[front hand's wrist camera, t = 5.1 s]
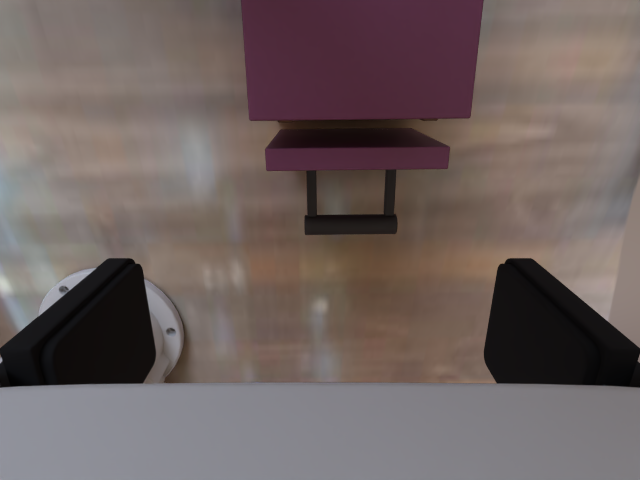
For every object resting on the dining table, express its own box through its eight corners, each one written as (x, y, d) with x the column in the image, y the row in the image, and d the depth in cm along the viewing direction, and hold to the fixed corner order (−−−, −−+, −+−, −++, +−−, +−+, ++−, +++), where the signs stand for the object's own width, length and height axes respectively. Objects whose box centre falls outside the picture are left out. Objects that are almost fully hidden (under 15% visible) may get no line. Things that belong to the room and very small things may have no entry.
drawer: (406, 209, 33) (439, 256, 24) (283, 210, 33) (271, 258, 24) (427, -115, 26) (486, -221, 17) (270, -114, 26) (244, -219, 17)
